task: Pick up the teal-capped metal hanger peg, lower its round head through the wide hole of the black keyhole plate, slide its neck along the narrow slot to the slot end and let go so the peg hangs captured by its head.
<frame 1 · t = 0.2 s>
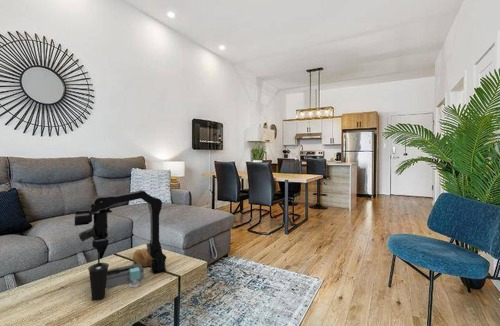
hand: (100, 255, 120), 14 cm above the table, tool pointing down, fingers open, 9 cm apart
drinking cup: (98, 298, 109), on the table
bread roll: (142, 264, 145), on the table
hanger peg: (134, 285, 120), on the table
keyhole plate: (122, 280, 125), on the table
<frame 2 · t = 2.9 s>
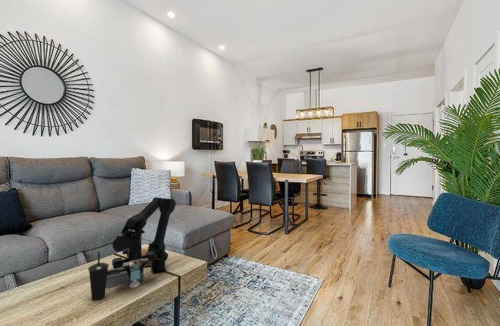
hand: (134, 277, 120), 4 cm above the table, tool pointing down, fingers closed on hanger peg, 4 cm apart
hanger peg: (134, 285, 120), on the table, touching gripper
everything else where it was.
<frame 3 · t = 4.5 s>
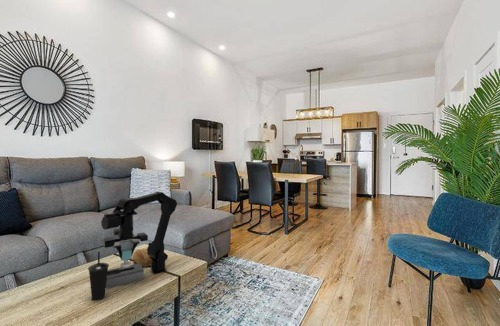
hand: (125, 257, 121), 13 cm above the table, tool pointing down, fingers closed on hanger peg, 4 cm apart
hanger peg: (125, 265, 121), point 9 cm above the table, touching gripper
everything else where it was.
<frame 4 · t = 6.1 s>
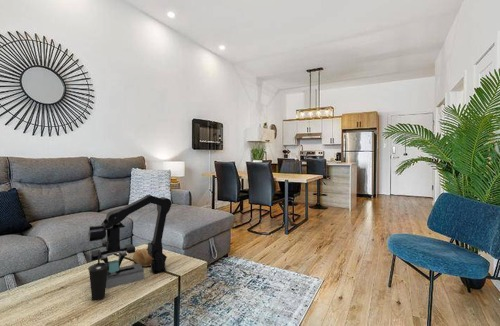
hand: (113, 269, 122), 7 cm above the table, tool pointing down, fingers closed on hanger peg, 4 cm apart
hanger peg: (113, 277, 122), point 3 cm above the table, touching gripper
everything else where it was.
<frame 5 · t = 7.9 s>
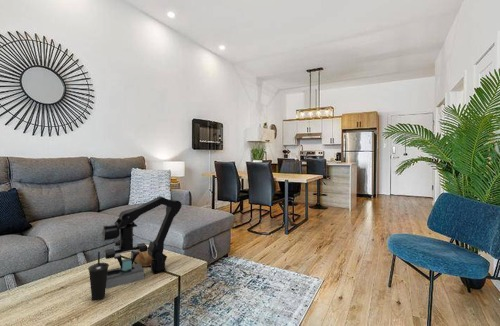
hand: (126, 267, 126), 6 cm above the table, tool pointing down, fingers closed on hanger peg, 4 cm apart
hanger peg: (126, 275, 126), point 2 cm above the table, touching gripper
everything else where it was.
when the fingers open (6 cm above the table, at t = 9.5 s): hanger peg stays where it is, resting on keyhole plate.
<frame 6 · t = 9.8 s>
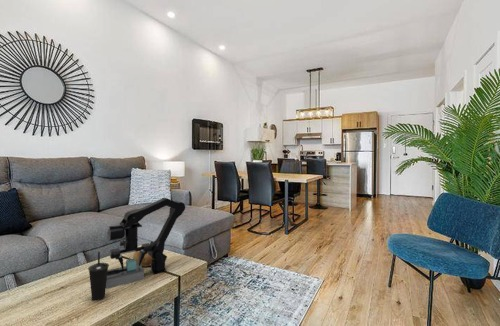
hand: (131, 267, 127), 6 cm above the table, tool pointing down, fingers open, 7 cm apart
hanger peg: (131, 275, 127), point 1 cm above the table, touching keyhole plate
everything else where it was.
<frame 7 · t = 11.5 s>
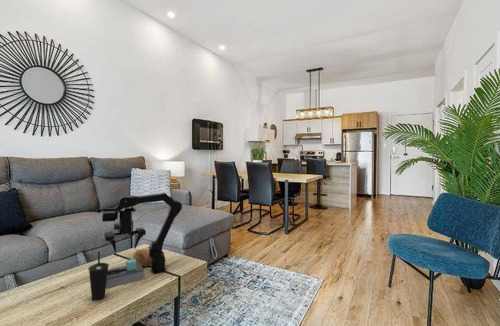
hand: (125, 250, 130), 13 cm above the table, tool pointing down, fingers open, 9 cm apart
nothing on the table moved.
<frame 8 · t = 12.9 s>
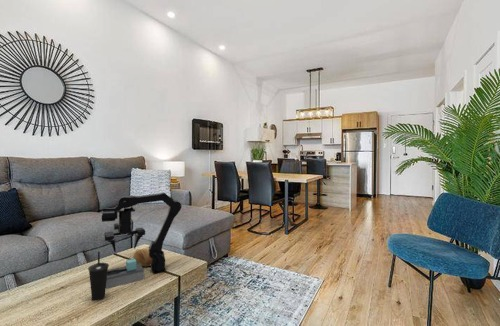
hand: (124, 250, 130), 13 cm above the table, tool pointing down, fingers open, 9 cm apart
nothing on the table moved.
at the end: hanger peg 0.2 cm from the target spot on the keyhole plate, point 1.4 cm above the keyhole plate's base; the gripper is holding nothing; hanger peg tilted 0° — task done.
